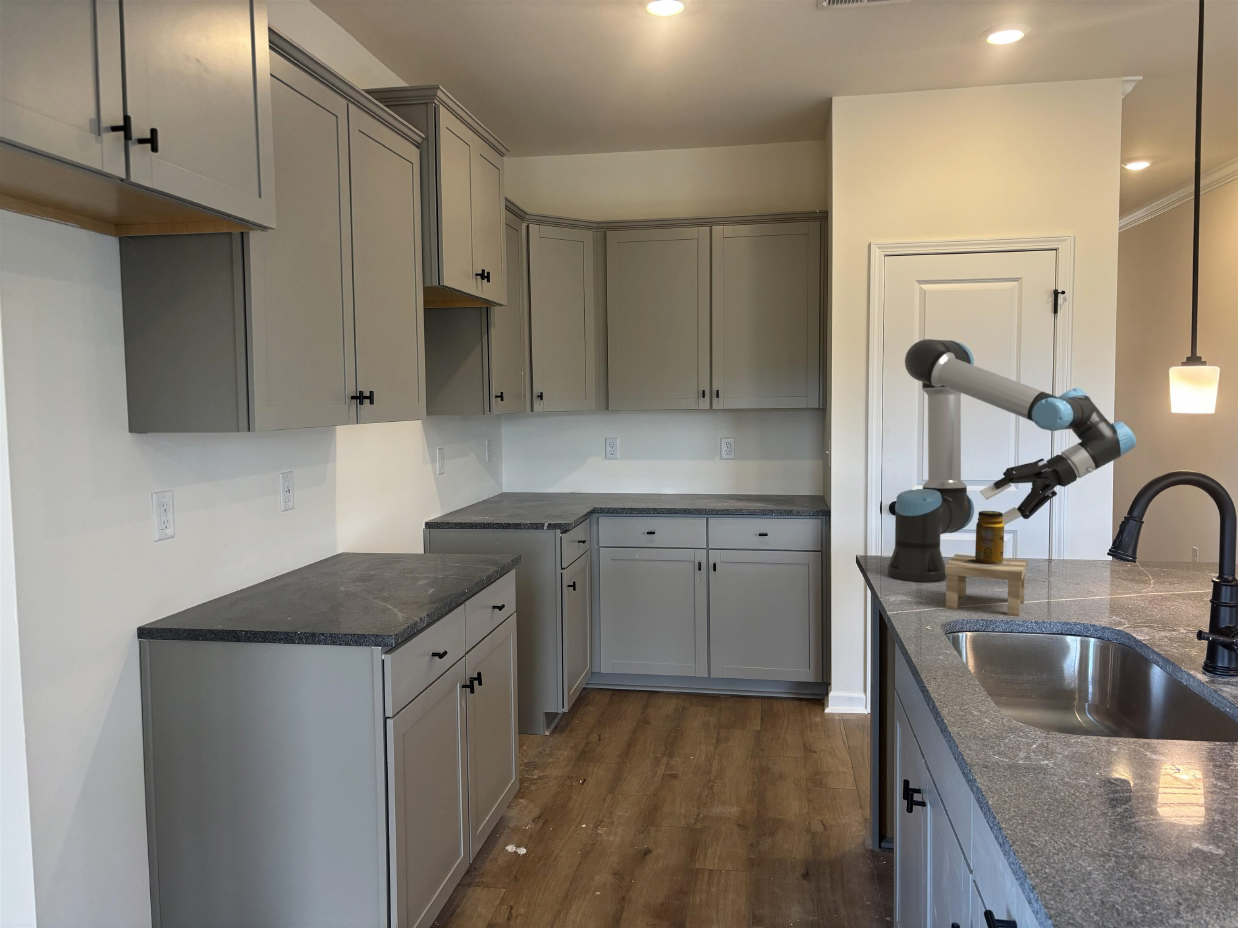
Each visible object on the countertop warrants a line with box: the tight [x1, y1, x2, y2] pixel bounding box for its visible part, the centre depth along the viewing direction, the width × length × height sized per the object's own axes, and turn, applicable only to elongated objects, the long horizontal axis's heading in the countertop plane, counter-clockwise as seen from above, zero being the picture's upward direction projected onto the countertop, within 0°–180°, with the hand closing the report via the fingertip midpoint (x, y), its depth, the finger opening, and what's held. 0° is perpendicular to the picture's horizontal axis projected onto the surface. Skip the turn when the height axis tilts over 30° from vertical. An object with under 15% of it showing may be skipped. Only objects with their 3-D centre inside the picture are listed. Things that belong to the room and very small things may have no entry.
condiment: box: [963, 510, 1011, 567], centre depth 194 cm, size 7×8×12 cm
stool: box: [945, 553, 1028, 617], centre depth 195 cm, size 16×16×10 cm
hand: (988, 510), depth 207 cm, fingers open, 13 cm apart
